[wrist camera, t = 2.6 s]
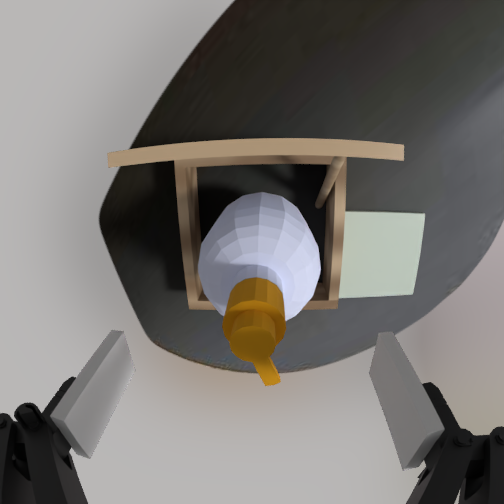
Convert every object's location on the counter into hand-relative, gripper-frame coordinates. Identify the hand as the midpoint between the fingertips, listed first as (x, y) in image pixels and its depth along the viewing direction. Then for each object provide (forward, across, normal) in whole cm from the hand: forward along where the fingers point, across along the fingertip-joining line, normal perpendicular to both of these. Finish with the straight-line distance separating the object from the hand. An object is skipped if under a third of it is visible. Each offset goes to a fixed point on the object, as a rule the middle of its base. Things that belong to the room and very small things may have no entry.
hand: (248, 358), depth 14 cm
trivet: (+25, +16, -4) cm, 30 cm away
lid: (+25, 0, +10) cm, 27 cm away
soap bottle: (+25, 0, 0) cm, 25 cm away
